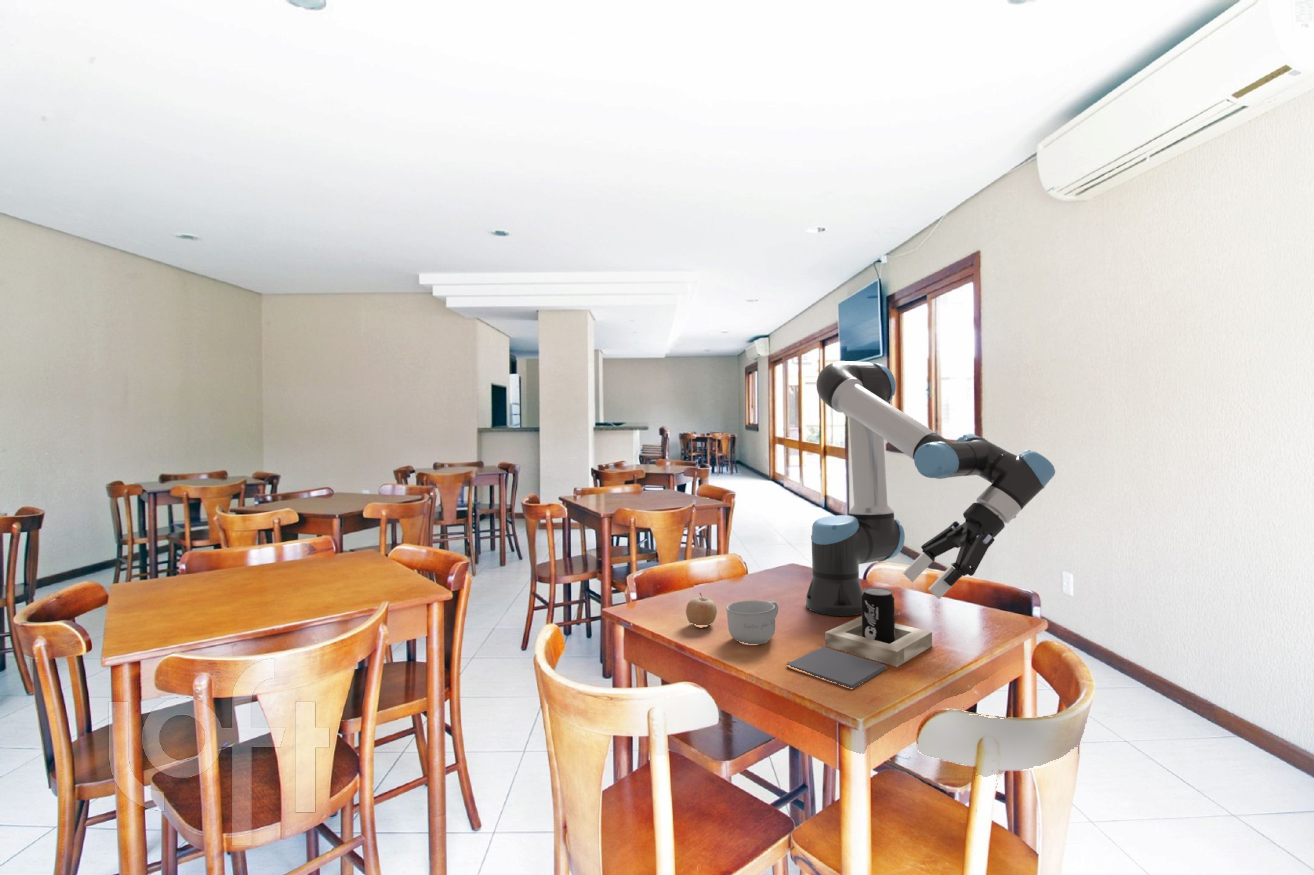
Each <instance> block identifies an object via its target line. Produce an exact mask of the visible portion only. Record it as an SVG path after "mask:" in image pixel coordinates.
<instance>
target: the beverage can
mask: <svg viewBox="0 0 1314 875" xmlns="http://www.w3.org/2000/svg"><path fill="white" fill-rule="evenodd" d="M861 616H862V637H865V638H869V639H873V640H876V641H880V642H884V643H888V644H890V643H892V642H894V641H895V623H896V622H895V598H894V596H893V591H892V590H891V589H888V588H886V587H880V586H870V587H865V588H863V595H862V614H861Z"/></svg>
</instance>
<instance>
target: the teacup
mask: <svg viewBox="0 0 1314 875" xmlns="http://www.w3.org/2000/svg"><path fill="white" fill-rule="evenodd" d="M725 610H726V617H727V627H728V631H729V634H730V636H731V638H732V639H734V640H735V639H736V641H737V640H738V641H740V642H744V643H748V644H761V645H763V644H762V643H764V644H766V643H768V642H769V640H770V639H771V638H772V637H774V635H775V633H776V617H777V615H778V613H779V605H778V603H777V602H776V601H774V600H768V601H766V600H764V601H763V600H759V599H758V600H754V599H753V600H740V601H733V602H731V603H729V604H727V605H726V608H725ZM765 642H766V643H765Z"/></svg>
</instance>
